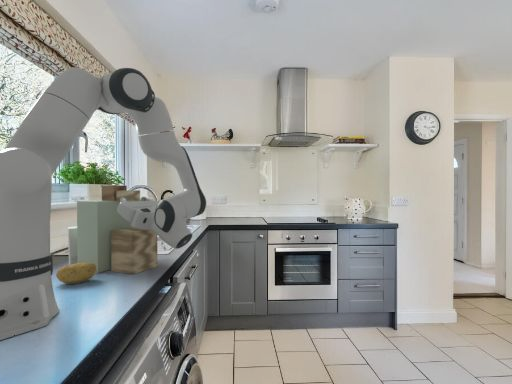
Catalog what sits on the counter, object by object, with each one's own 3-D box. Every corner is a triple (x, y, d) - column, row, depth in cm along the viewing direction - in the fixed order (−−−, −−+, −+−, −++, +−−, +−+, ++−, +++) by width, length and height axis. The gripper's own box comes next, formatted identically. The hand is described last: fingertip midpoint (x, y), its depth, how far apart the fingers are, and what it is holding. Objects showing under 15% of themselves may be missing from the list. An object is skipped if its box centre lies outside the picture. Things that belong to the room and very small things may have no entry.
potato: (95, 283, 91) (95, 263, 91) (53, 288, 87) (53, 267, 87) (97, 277, 97) (97, 259, 97) (58, 281, 93) (58, 262, 93)
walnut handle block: (129, 201, 105) (129, 185, 105) (101, 200, 112) (101, 185, 112) (142, 200, 111) (142, 185, 111) (115, 200, 118) (115, 185, 118)
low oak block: (132, 274, 101) (131, 232, 101) (111, 270, 106) (111, 230, 106) (157, 266, 112) (157, 228, 112) (137, 263, 116) (137, 226, 116)
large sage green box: (97, 272, 103) (97, 201, 103) (77, 269, 108) (76, 201, 108) (141, 260, 121) (141, 199, 121) (122, 258, 126) (122, 199, 126)
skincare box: (91, 261, 120) (91, 224, 120) (93, 264, 115) (93, 226, 115) (67, 264, 115) (67, 226, 115) (69, 267, 110) (68, 228, 110)
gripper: (178, 208, 112) (156, 191, 118) (136, 211, 94) (112, 191, 99) (172, 222, 114) (150, 204, 119) (129, 227, 95) (106, 206, 101)
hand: (132, 198), depth 109 cm, fingers open, 8 cm apart
